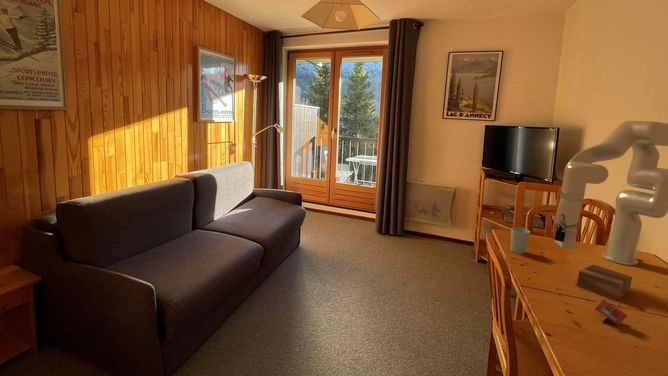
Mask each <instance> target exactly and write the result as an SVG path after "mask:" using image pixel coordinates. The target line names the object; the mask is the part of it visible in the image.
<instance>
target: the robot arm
mask: <svg viewBox="0 0 668 376" xmlns="http://www.w3.org/2000/svg"><path fill="white" fill-rule="evenodd" d="M656 146H662V147H668V123H667V122H659V121H651V120H649V121H648V120H625V121H624V122H622V123H619V125H618V126H617V127H616V128H614V129H613V131H612V132H611V133H610V134H609V135H608V136H607V137H606V138H604V140H603V141H602V142H600V143H598V144H596V145H595V144H594V145H593V146H590V147H587V148H585V149H583V150H581V151H579V152H578V153H576V154H575V155H574V156H572V158H571V159H570V160H569V161H568V163H566V165H565V168H564V171H563V178H562V183H561V185H562V186H561V191H560V197H559V203H558V206H557V209H556V210H557V211H556V213H555V219H554V224H555V232H556V233H554V238H555V240H557V241H560V242H564V238H565V232H564V231H565V229H566V227H568V226H571V225H573V226H575V227H576V228H577V229H578V223H579V221H580V215H581V209H582V203H584V199H585V194H586V189H587V184H590V185H591V184H593V185H599V184H602V183H604V182H606V181H607V179H608V177H609V170H608V168H607V167H606V166H604V165H601V164H599V162H604V161H606V162H607V161H611V160H616V159H619V158H621V157H623V156H624V155H625V154H626V153H627V152H628V150H630V148H631V149H632V157H631V162H630V163H629V164H630V165H629V168H628V172H627V176H626V184H627V185H628V186H630V187H631V188H637V189H642V190H647V191H648V190H649V191H653V192H654V193H649V192H646V191H645V192H644V191H640V190H639V191H638V190H634V189H633V190H632V189H625V190H621V191H620V192H618V193H617V195H616V196H615V213H614V220H613V223H612V224H613V225H612V227H611V233H610V239H609V242H608V247H607V251H605V252H602V254H601V257H602V258H604V259H606V260H607V261H610V262H613V263H615V264H618V265H619V264H621V265H623V266H624V265H626V266H637V265H639V260H638V259H636V258H635V256H636V254H637V249H638V244H639V240H640V236H641V232H642V227H643V221H642V219H641V217H640V216H644V217H647V218H648V217H649V218H653V219H661V218H664V217H665V216H666V215H667V213H668V168H664V167H663V168H661V167H658V164H659V160H660V151H659V150H658V148H657V147H656ZM597 163H598V164H597ZM562 223H564V224H562ZM562 226H564V227H563V228H562Z"/></svg>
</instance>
